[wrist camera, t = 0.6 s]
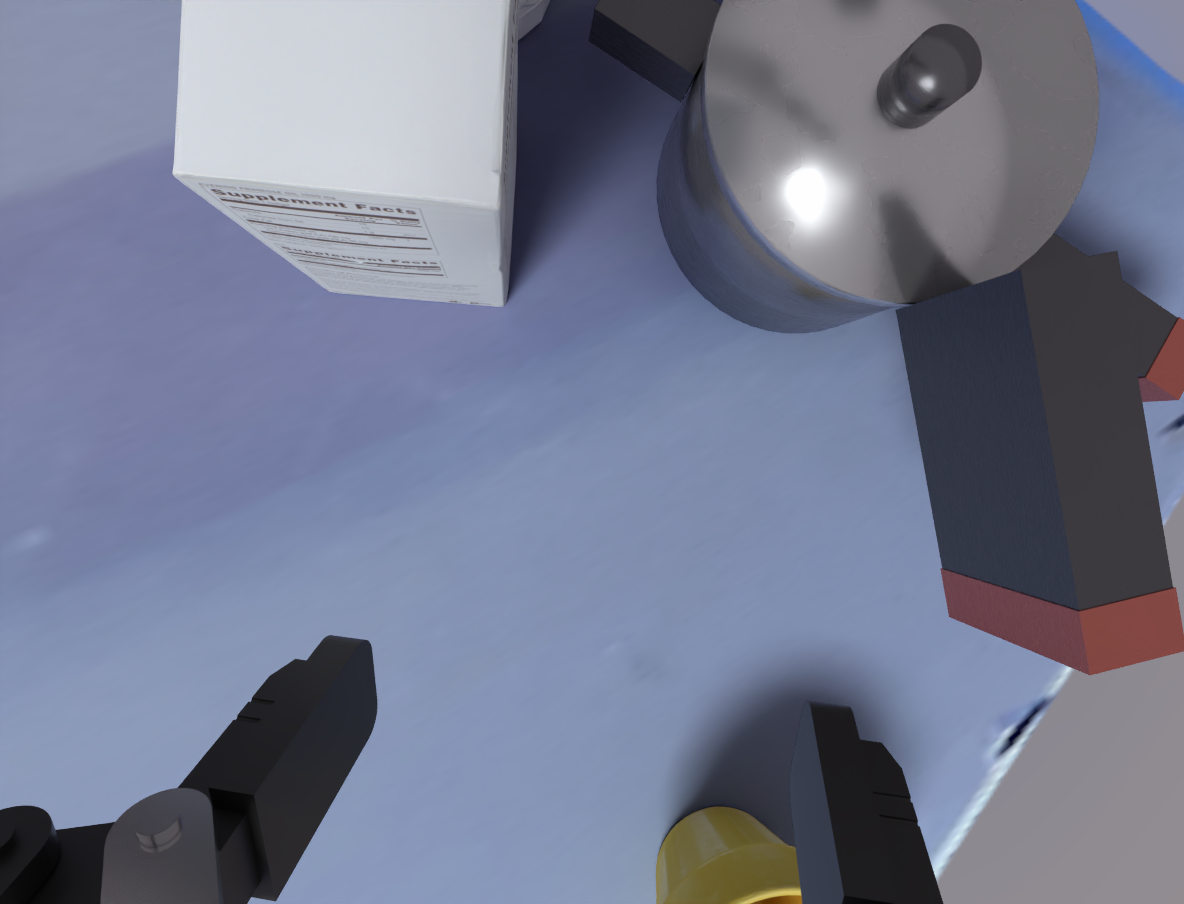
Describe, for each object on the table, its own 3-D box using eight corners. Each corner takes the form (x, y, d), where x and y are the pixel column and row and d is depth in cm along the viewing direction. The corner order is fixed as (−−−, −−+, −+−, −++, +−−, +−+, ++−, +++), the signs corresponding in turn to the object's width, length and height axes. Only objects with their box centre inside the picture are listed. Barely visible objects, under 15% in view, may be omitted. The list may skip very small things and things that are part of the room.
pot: (566, 49, 37) (585, -92, 27) (962, -69, 39) (1114, -239, 29) (730, 531, 39) (806, 564, 29) (1102, 391, 41) (1292, 377, 31)
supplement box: (334, 106, 36) (179, -182, 19) (519, 126, 37) (524, -130, 20) (323, 297, 36) (160, 178, 19) (508, 312, 37) (504, 211, 20)
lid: (638, -207, 27) (684, -440, 20) (1022, -248, 29) (1193, -478, 21) (801, 651, 28) (899, 724, 21) (1157, 565, 30) (1360, 605, 23)
